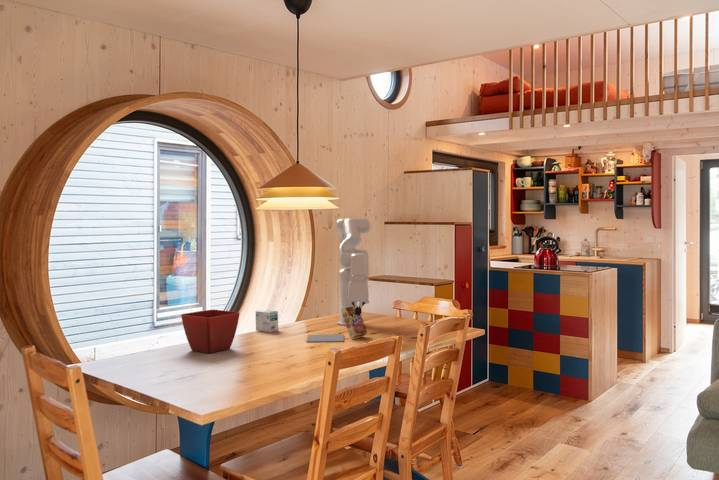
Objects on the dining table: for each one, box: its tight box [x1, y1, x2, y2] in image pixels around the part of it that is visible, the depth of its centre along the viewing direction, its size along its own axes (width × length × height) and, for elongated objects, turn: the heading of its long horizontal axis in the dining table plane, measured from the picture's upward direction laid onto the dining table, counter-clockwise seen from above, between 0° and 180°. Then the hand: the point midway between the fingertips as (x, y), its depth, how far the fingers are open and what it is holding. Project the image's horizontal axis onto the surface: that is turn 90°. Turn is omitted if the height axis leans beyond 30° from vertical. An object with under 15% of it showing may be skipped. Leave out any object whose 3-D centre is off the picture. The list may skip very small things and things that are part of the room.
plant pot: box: [180, 309, 240, 354], centre depth 270 cm, size 19×19×17 cm
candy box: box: [341, 307, 368, 339], centre depth 296 cm, size 9×4×15 cm, turn 134°
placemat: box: [306, 333, 345, 343], centre depth 293 cm, size 16×18×1 cm
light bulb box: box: [255, 309, 279, 333], centre depth 316 cm, size 11×7×11 cm, turn 58°
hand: (358, 315), depth 293 cm, fingers closed
